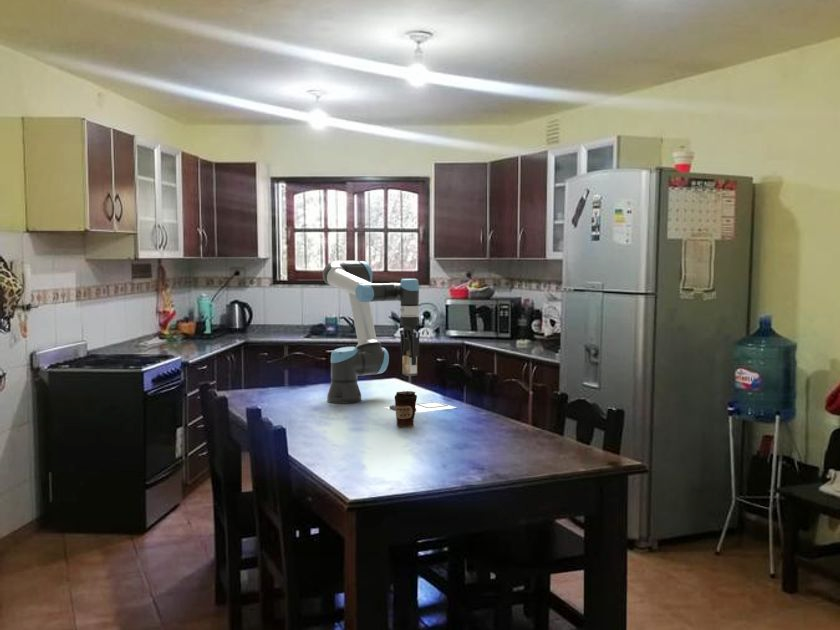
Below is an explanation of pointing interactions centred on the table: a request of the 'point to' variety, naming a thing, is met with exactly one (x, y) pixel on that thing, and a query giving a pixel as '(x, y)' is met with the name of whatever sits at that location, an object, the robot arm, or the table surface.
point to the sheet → (429, 406)
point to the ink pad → (394, 408)
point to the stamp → (407, 365)
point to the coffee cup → (405, 408)
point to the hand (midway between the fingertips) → (409, 372)
